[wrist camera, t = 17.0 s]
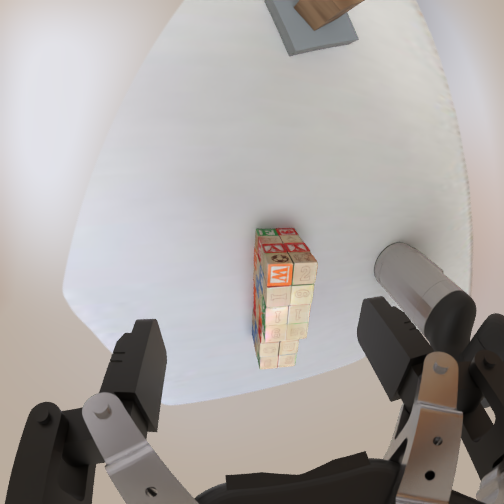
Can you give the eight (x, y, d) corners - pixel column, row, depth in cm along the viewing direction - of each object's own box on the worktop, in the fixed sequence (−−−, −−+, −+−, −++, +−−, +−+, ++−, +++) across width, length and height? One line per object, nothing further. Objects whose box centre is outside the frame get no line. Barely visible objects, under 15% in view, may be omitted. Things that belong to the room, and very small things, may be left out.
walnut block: (317, -4, 27) (342, -29, 19) (337, 18, 29) (366, -2, 21) (293, 7, 28) (314, -19, 20) (314, 31, 30) (340, 10, 22)
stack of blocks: (284, 332, 55) (299, 379, 44) (251, 334, 54) (260, 383, 43) (294, 227, 46) (319, 262, 35) (254, 227, 45) (268, 264, 34)
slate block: (323, -7, 30) (332, -16, 26) (347, 44, 34) (358, 39, 31) (264, 2, 30) (268, -8, 27) (288, 56, 35) (295, 50, 31)
